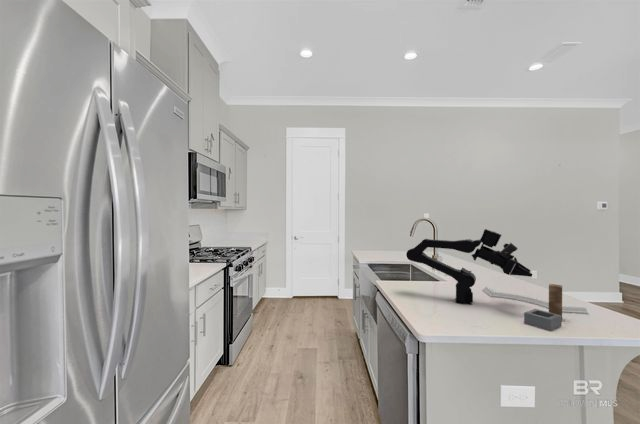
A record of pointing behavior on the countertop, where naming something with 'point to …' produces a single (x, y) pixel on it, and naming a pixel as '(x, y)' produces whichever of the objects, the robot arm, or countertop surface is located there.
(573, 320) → the countertop surface
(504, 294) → the molding
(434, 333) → the countertop surface
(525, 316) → the end cap
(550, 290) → the tall wooden block
